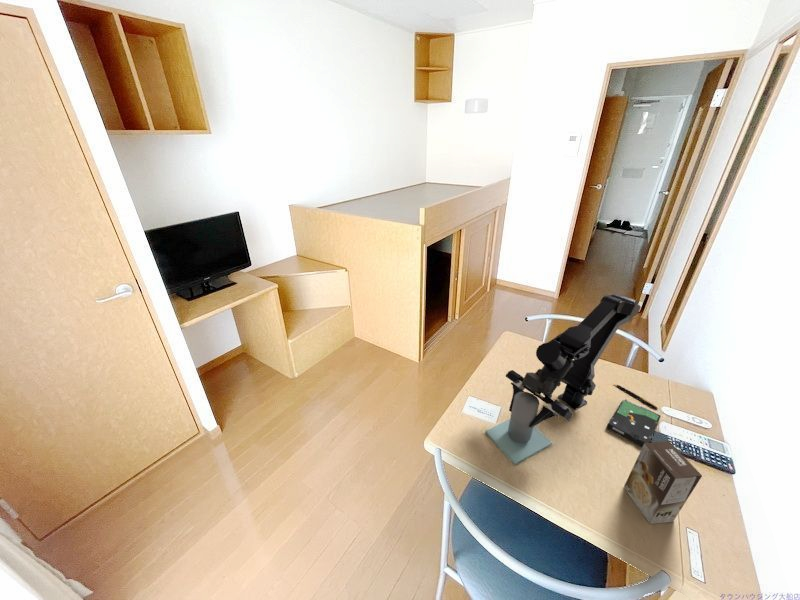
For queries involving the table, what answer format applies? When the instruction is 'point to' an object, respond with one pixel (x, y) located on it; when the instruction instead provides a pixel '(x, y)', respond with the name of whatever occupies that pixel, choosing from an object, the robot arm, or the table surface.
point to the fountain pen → (637, 397)
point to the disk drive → (633, 422)
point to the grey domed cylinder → (522, 416)
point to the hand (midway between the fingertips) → (519, 419)
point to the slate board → (517, 443)
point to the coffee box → (661, 481)
